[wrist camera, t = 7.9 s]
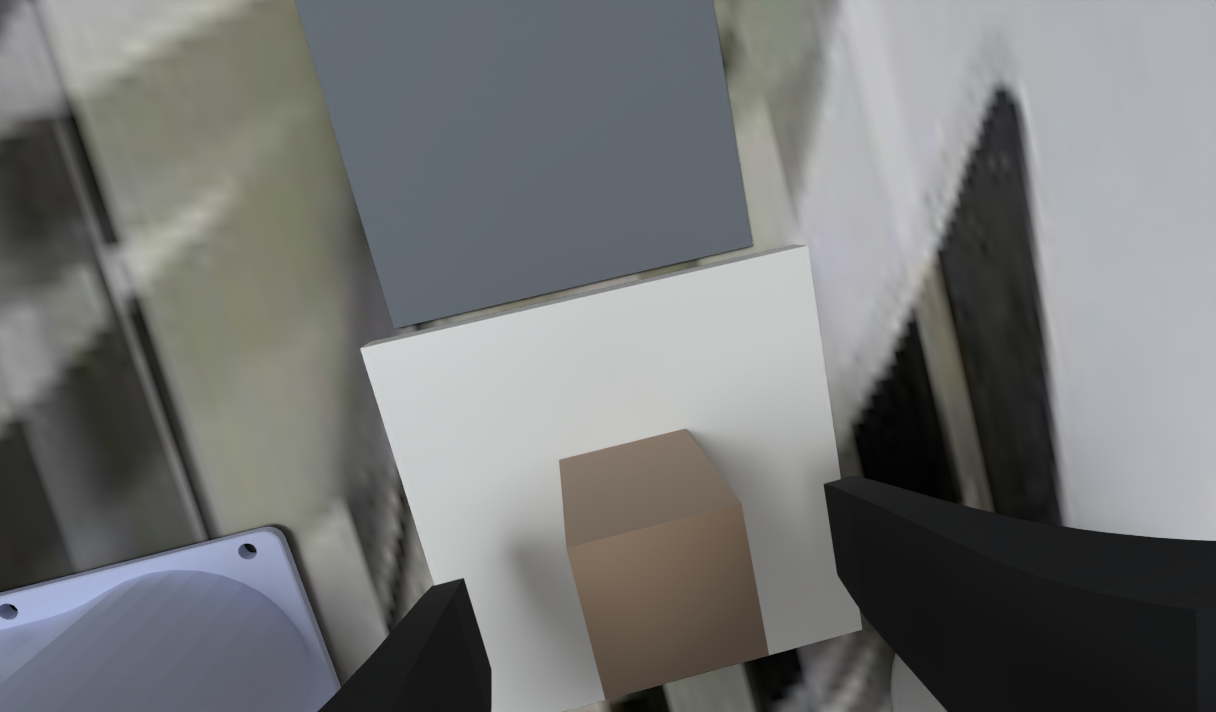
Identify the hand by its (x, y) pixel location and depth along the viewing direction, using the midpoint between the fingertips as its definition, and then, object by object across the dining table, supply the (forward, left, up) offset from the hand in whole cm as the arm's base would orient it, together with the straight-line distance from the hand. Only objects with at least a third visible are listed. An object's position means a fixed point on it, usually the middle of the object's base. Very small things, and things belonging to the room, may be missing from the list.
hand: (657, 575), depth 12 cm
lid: (0, 0, -4) cm, 4 cm away
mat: (0, +11, -8) cm, 13 cm away
